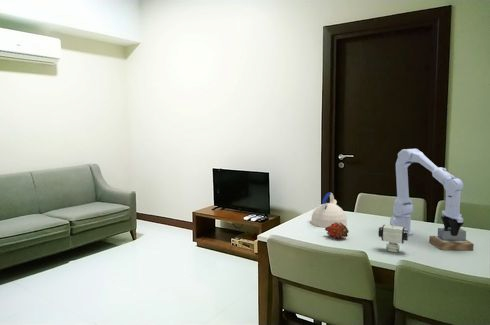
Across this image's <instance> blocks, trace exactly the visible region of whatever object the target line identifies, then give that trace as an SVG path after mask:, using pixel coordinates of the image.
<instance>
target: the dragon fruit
mask: <svg viewBox="0 0 490 325" xmlns="http://www.w3.org/2000/svg"><path fill="white" fill-rule="evenodd" d="M324 231H326V235H328V236H330V237H332V238H334V239H339V240H343V238H346V237H348V236H349V235H348V234H349V229H348V227H347V225H346V226H344V225H343V224H342V223H340V224H338V223H337V222H334V224H332V225H331V226H328V227H326V228H325V229H324Z"/></svg>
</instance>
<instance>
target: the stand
mask: <svg viewBox="0 0 490 325" xmlns="http://www.w3.org/2000/svg"><path fill="white" fill-rule="evenodd" d="M428 242H429V243H430V244H432V245H433V246H435V247H436V248H437V249H439V250H441V251H474V245H475V243H473V242H472V241H470V240H468V239H466V241H443V240H441V239H440V238H438V235H429V241H428Z"/></svg>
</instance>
